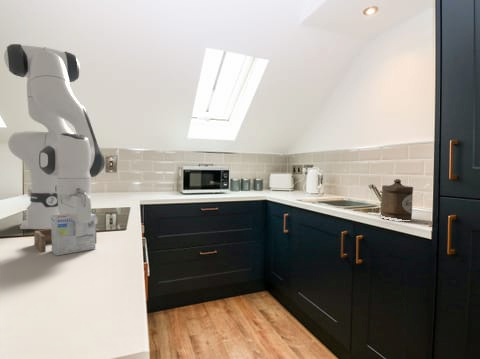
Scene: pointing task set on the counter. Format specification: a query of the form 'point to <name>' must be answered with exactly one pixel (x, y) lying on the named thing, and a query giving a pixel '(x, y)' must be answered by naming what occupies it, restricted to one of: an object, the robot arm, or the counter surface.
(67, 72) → the robot arm
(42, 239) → the shelf bay
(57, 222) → the light bulb box
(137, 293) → the counter surface
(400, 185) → the wooden container
